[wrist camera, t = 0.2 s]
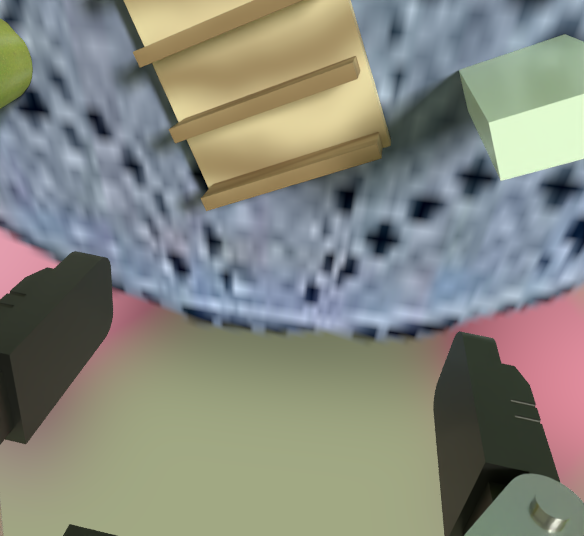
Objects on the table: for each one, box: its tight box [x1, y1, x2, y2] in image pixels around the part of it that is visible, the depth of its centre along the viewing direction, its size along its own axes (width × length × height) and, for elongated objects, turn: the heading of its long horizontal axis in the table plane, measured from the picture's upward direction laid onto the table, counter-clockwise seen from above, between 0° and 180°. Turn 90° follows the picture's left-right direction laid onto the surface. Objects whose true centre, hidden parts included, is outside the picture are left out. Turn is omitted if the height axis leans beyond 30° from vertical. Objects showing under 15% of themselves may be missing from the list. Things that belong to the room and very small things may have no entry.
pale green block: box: [459, 34, 584, 181], centre depth 29 cm, size 3×6×14 cm, turn 111°
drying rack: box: [124, 0, 391, 211], centre depth 35 cm, size 17×14×4 cm
